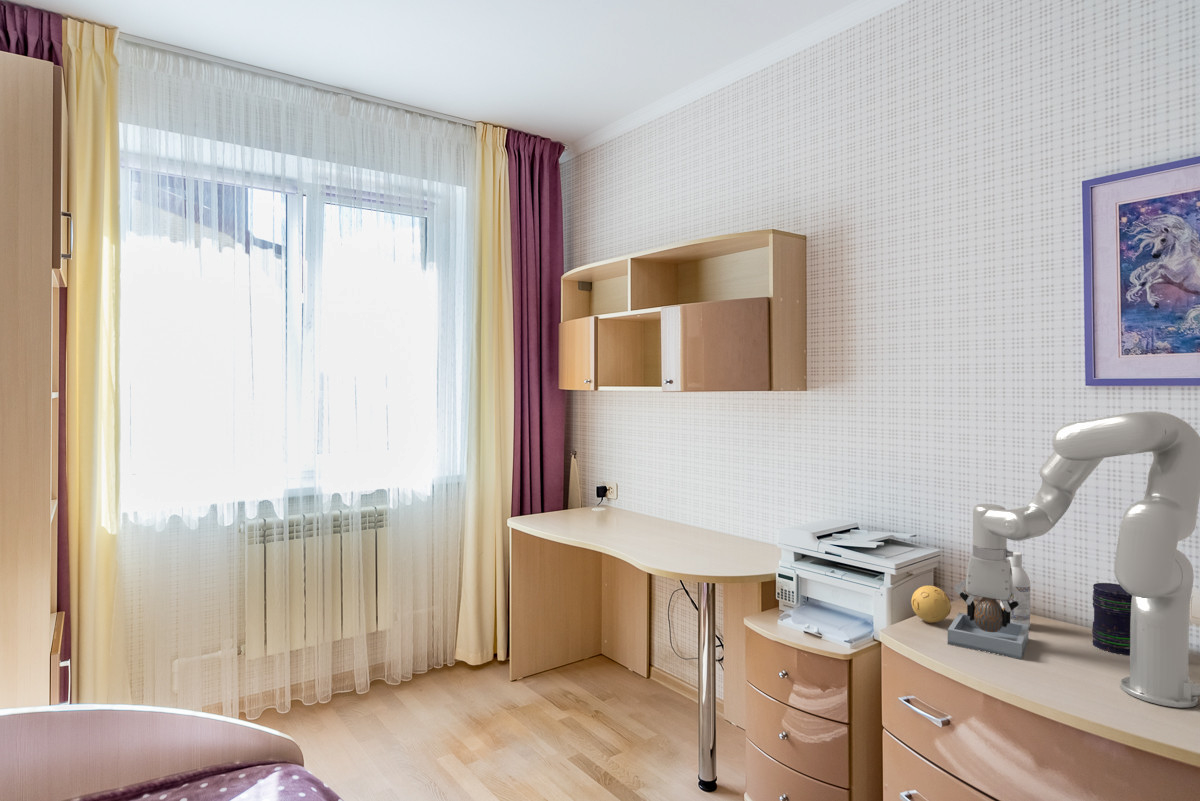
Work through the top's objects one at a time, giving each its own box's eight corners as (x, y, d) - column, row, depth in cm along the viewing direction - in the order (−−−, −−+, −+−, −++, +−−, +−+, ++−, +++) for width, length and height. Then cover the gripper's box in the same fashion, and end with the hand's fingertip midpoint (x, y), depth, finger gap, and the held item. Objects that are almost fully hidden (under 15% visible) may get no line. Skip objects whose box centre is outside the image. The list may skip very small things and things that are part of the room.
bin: (1028, 639, 173) (1028, 625, 173) (1021, 659, 161) (1021, 643, 160) (959, 626, 183) (959, 612, 183) (947, 644, 170) (947, 629, 170)
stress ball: (914, 618, 192) (897, 600, 188) (935, 591, 193) (918, 572, 189) (943, 635, 183) (925, 617, 179) (964, 607, 184) (947, 588, 180)
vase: (1008, 635, 168) (1009, 600, 167) (978, 633, 169) (979, 598, 169) (998, 625, 174) (998, 592, 174) (969, 624, 176) (969, 590, 176)
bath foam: (999, 619, 188) (999, 548, 188) (1028, 623, 185) (1029, 551, 185) (1001, 627, 182) (1001, 554, 182) (1031, 631, 179) (1031, 557, 179)
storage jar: (1091, 637, 175) (1091, 580, 174) (1139, 645, 169) (1140, 586, 169) (1092, 650, 166) (1093, 590, 166) (1143, 658, 161) (1144, 597, 161)
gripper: (1031, 555, 169) (1030, 625, 169) (954, 545, 180) (953, 611, 180) (1028, 561, 163) (1026, 634, 163) (948, 550, 174) (947, 619, 174)
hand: (988, 621), depth 172 cm, fingers closed on vase, 6 cm apart
